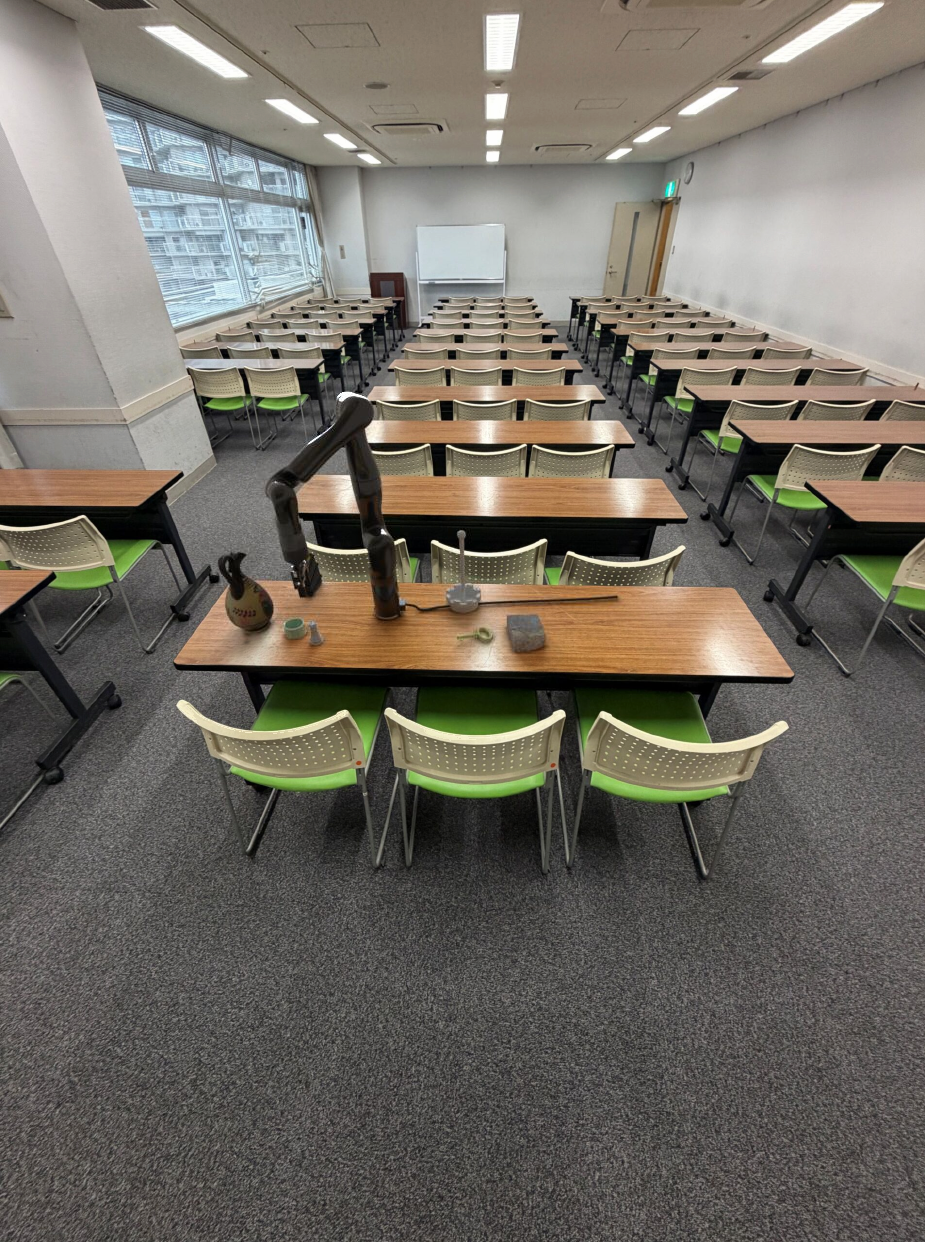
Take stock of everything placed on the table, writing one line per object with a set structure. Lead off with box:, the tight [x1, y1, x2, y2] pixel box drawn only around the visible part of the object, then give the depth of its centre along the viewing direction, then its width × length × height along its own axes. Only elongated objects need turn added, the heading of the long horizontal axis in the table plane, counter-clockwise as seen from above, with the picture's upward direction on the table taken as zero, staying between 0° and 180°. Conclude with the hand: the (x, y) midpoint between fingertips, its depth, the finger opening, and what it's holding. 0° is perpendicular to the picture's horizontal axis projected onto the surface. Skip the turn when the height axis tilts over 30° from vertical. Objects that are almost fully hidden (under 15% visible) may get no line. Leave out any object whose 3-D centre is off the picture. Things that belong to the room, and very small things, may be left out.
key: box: [456, 626, 493, 643], centre depth 173 cm, size 7×12×2 cm, turn 126°
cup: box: [283, 617, 307, 640], centre depth 178 cm, size 7×7×4 cm
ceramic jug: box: [217, 551, 275, 635], centre depth 174 cm, size 17×15×30 cm
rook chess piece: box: [307, 620, 324, 646], centre depth 173 cm, size 4×4×8 cm
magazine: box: [301, 552, 323, 597], centre depth 199 cm, size 4×13×15 cm, turn 173°
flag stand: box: [445, 530, 482, 614], centre depth 182 cm, size 13×13×30 cm
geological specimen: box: [506, 613, 547, 653], centre depth 172 cm, size 11×6×15 cm
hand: (305, 589), depth 164 cm, fingers open, 8 cm apart
